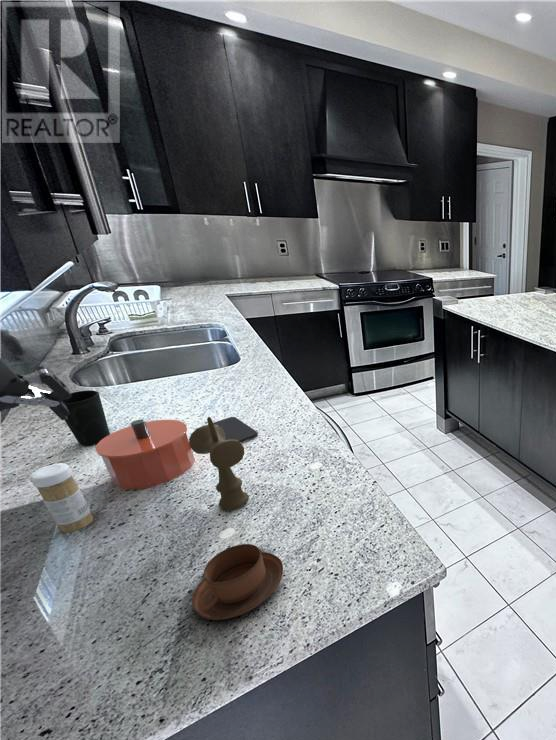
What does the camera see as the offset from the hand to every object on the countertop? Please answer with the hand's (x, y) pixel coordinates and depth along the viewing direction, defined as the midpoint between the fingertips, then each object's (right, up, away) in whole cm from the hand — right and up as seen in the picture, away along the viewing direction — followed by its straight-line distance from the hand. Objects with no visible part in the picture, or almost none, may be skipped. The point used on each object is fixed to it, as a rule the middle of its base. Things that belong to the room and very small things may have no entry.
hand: (29, 428), depth 67 cm
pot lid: (+2, -4, +18) cm, 19 cm away
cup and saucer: (+37, -26, -3) cm, 45 cm away
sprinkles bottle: (+1, -20, +7) cm, 21 cm away
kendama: (+24, -17, +15) cm, 33 cm away
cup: (-24, -7, +34) cm, 42 cm away
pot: (+2, -13, +22) cm, 26 cm away
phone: (+6, -5, +39) cm, 40 cm away
